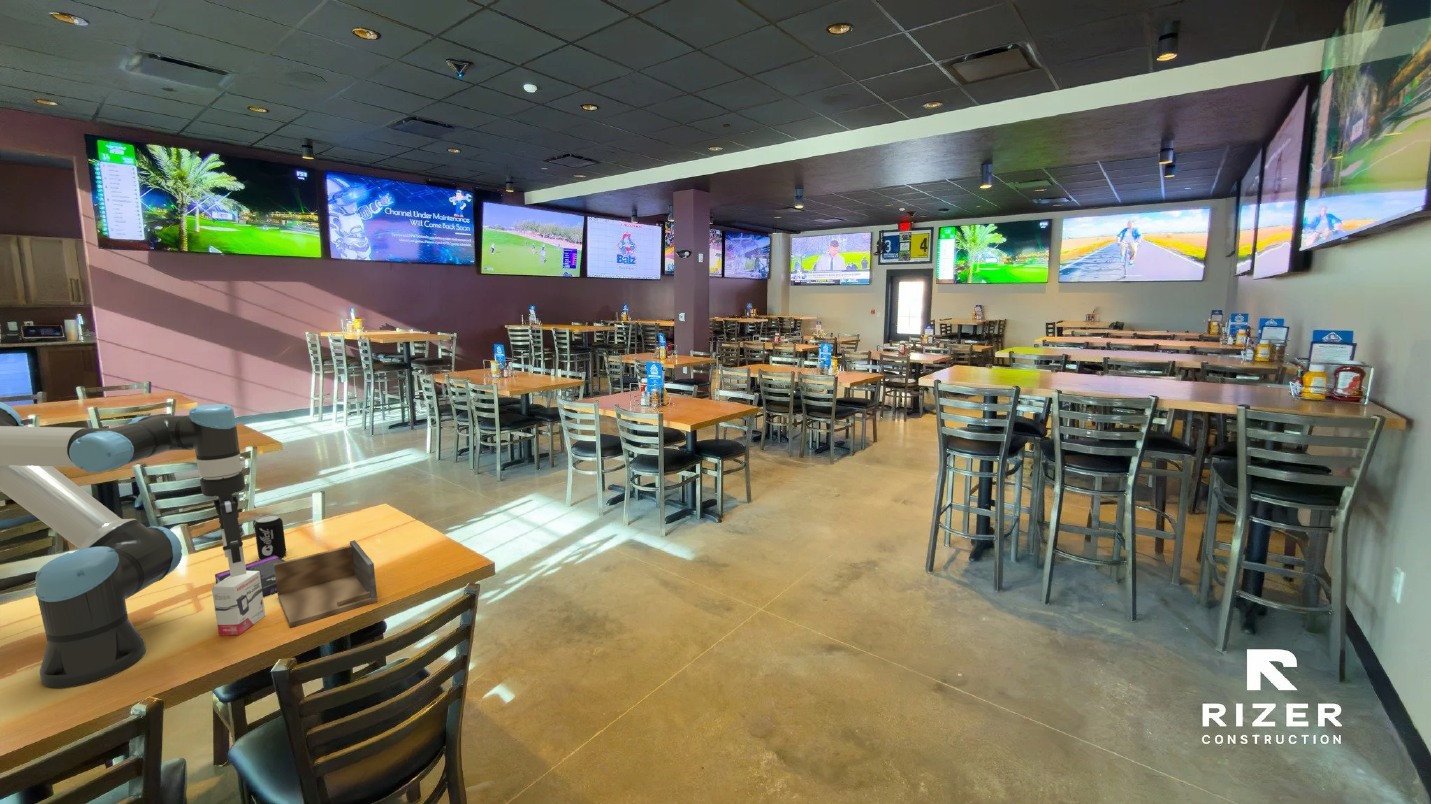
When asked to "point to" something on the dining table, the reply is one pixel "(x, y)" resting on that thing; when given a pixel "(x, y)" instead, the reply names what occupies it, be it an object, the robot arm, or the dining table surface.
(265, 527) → the beverage can
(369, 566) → the shelf
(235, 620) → the ink box
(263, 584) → the box
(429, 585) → the dining table surface
